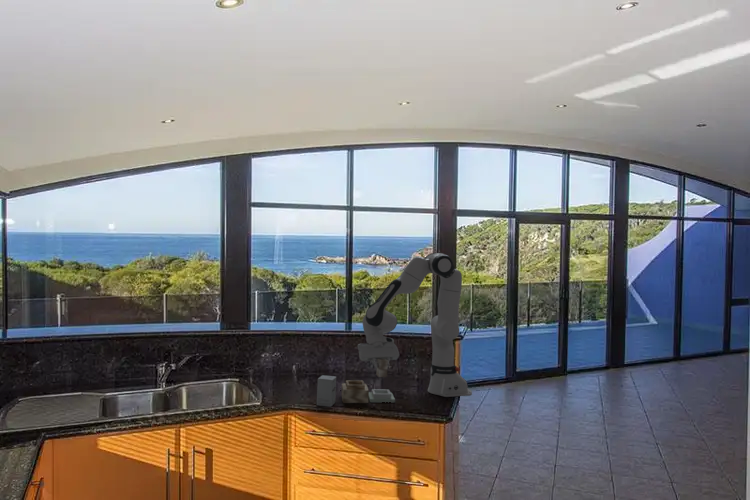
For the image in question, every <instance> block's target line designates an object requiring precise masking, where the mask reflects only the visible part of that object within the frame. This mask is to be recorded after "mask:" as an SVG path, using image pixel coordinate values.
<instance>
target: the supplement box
mask: <svg viewBox="0 0 750 500" xmlns="http://www.w3.org/2000/svg"><path fill="white" fill-rule="evenodd" d="M336 394H337V376H334V375H323V374H322V375H320V376H319V377H318V378H317V388H316V406H320V407H329V408H331V407H333V405H334V404H335V403H336Z"/></svg>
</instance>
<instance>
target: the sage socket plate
mask: <svg viewBox="0 0 750 500" xmlns="http://www.w3.org/2000/svg"><path fill="white" fill-rule="evenodd" d="M368 402H369V403H381V404H382V402H385V403H386V402H388V403H389V402H391V403H393V404H394V403H396V398H395V397H394V394H393V393H392V392H391V391H390V389H383V388H381V389H380V388H379V389H378V388H372V389H371V391H369V397H368ZM391 403H390V404H391Z"/></svg>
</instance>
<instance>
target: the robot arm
mask: <svg viewBox="0 0 750 500" xmlns="http://www.w3.org/2000/svg"><path fill="white" fill-rule="evenodd" d="M428 274H433V275H436V276H438V277H440V279H439V280H440V284H439V289H438V296H437V302H436V303H437V315H435V316H434V317H432V319H431V321H430V329H431V331H430V332H431V333H430V334H431V343H432V345H431V346H432V356H431V364H430V365H431V366H430V380H429V384H428V388H427V392H428V393H430V394H433V395H435V396H436V395H437V396H441V397H444V398H449V397H454V398H455V397H470V396H472V395H473V392H472V390H471V389H470V388H469V387H468V383H467V380H466V379H465V377H463V376H462V375H461V374H460V373H458V372H460V367H458V366H457V365H455V364H454V363H455V347H454V342H453V340H455V339H457V337H459V333H460V327H459V322H460V321H459V319H460V317H459V316H460V315H459V314H460V313H459V307H460V300H461V294H462V287H463V286H462V285H463V284H462V283H463V278H462V277H463V276H462V275H463V274H462V272H461V271H460V270H459V269H457V268H455V265H454V262H453V260H452V258H451V257H450V256H449V255H447V254H445V253H442V252H432V253H430V254H428V255H427V256H425V257H423V256H419V255H415V256H414V257H413V258H411V260H410V261H409V262H408V263H407V265H406V266H405V268H404V270H403V271H402V272H401V274H400V275H399V276H398V277H397V278H396V279H393V280H392V281H391V282H390V283H388V285H387V286H386V288H384V290H383V292H382V293H381V294H380V295H379V297H378V298H377V299H376V300H375V301H374V302H373V303H372V304H371V305H370V306H369V307H368V309H367V310H366V311H365V315H364V316H363V319H362V329H363V333H364V335H365V340H366V342H363V343H362V342H361V343H359V344H357V345H356V348H357V350H358V355H359V357H358V358H359V360H360V361H361V362H371V364H372V365H374V367H375V369H377V368H379V363H377V359H386V360H388V367H387V368H389V367H390V361H396V360H398V359H399V357H400V352H399V348H398V346H397V344H396V343H395V339H393V338H391V337H387V336H384V335H386V334H389V333H390V332H392V331H394V330H395V329H396V327H397V324H398V318H397V316H396V315H395V314H394V313H392V312H390V311H388V310H386V308H387V307H388V306H389V304H390V303H391V302H392V301H393V299H394V298H396V296H398V295H402V294H403V295H404V294H409V295H410V294H413V293H415V292H416V291H417V290H419V288H420V286H421V285H422V284H423V281H424V280H425V278H426V276H428Z"/></svg>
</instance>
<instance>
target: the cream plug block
mask: <svg viewBox="0 0 750 500" xmlns="http://www.w3.org/2000/svg"><path fill="white" fill-rule="evenodd" d="M376 363H379V368H376V371H375V372H376V376H377V377H378V378H387V377H388V368H389V367H388V360H386V359H377V361H376Z"/></svg>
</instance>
